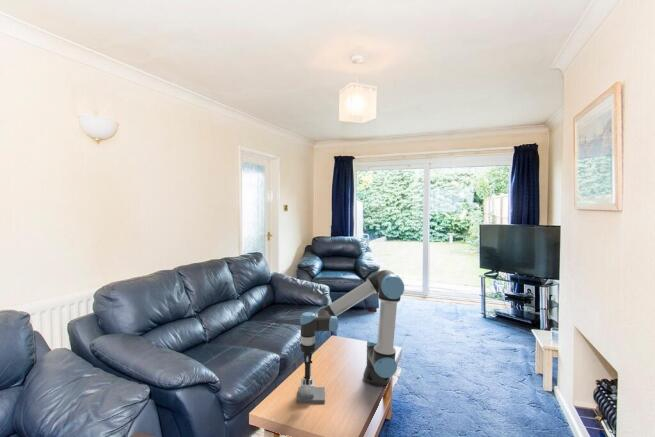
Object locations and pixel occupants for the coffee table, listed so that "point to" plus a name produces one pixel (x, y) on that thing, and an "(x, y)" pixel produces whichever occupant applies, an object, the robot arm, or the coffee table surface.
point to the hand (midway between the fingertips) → (308, 382)
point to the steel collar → (307, 392)
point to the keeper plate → (318, 397)
